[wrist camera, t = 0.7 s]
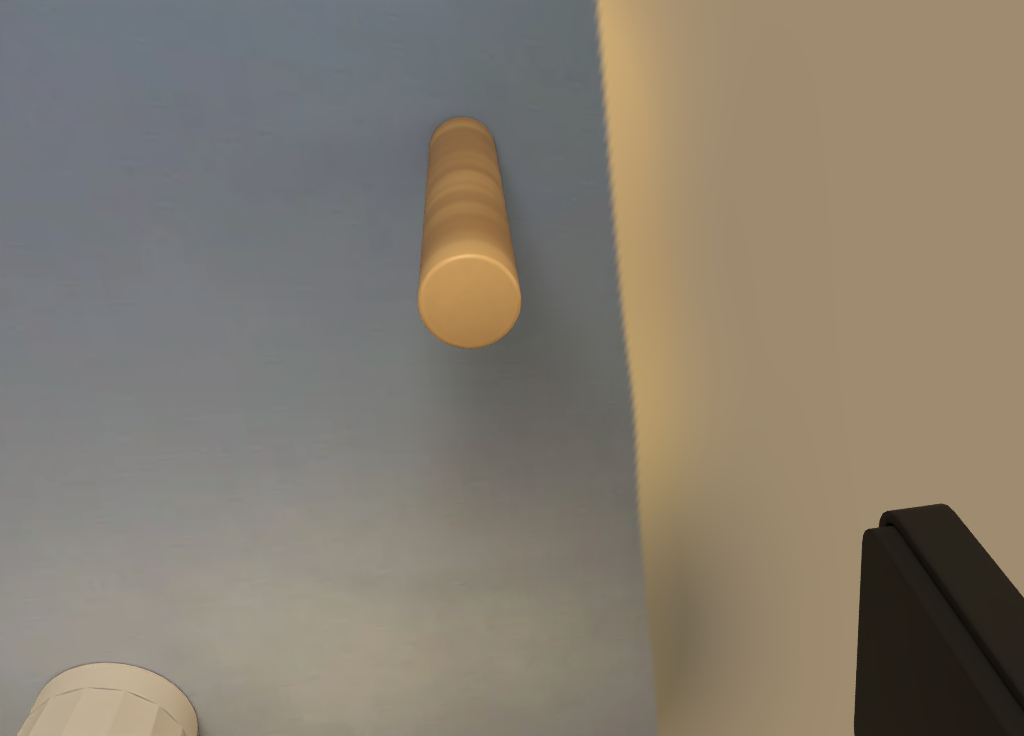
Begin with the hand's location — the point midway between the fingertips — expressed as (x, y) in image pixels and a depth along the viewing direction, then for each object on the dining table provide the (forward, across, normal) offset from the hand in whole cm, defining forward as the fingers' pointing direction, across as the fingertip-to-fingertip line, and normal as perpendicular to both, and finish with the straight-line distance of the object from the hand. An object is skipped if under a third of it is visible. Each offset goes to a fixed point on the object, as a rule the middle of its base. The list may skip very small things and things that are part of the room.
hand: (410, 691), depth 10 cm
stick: (+22, -1, 0) cm, 22 cm away
